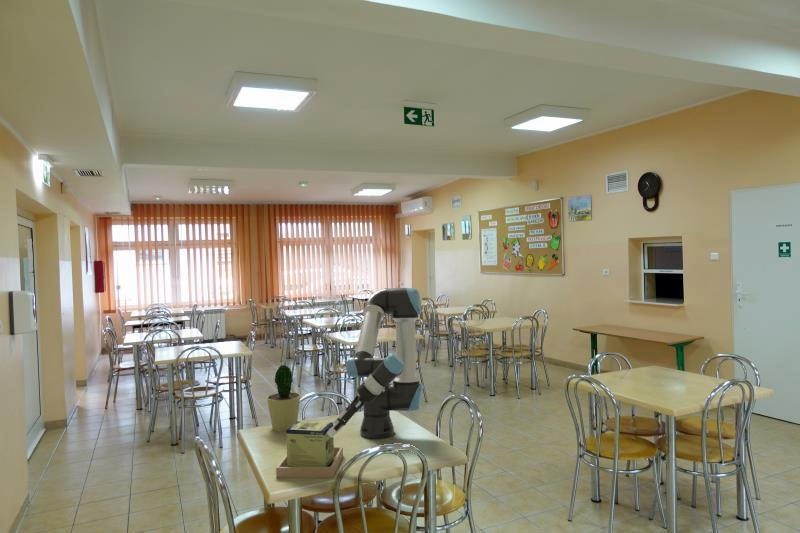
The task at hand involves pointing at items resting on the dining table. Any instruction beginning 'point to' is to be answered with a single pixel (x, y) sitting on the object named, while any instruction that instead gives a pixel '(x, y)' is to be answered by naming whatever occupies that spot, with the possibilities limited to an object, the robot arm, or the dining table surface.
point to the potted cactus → (283, 401)
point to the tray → (309, 468)
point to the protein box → (309, 444)
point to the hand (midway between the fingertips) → (332, 429)
